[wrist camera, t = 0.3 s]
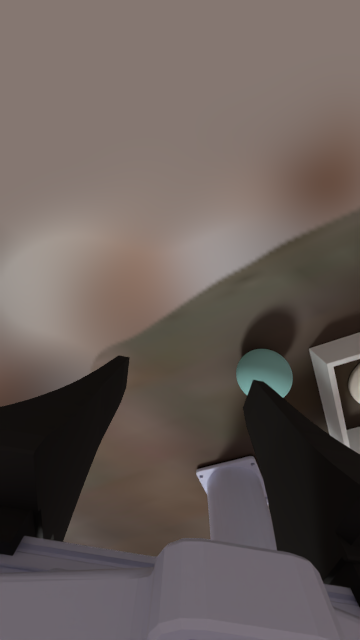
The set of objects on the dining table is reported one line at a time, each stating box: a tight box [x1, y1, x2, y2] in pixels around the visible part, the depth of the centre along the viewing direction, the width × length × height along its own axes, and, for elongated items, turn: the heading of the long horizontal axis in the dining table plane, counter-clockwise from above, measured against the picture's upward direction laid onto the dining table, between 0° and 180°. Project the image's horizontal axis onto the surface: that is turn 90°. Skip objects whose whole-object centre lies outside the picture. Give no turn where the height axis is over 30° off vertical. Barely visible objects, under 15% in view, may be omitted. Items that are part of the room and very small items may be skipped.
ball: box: [236, 349, 293, 398], centre depth 20 cm, size 5×5×5 cm
